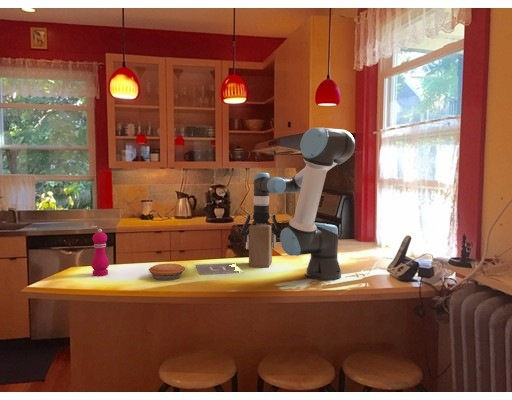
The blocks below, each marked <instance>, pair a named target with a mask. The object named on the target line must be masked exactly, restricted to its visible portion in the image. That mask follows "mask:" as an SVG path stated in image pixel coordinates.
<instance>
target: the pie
mask: <svg viewBox="0 0 512 400" xmlns="http://www.w3.org/2000/svg"><path fill="white" fill-rule="evenodd" d="M148 271H149V272H148V273H150V274H151V276H152V277H153V279H155V280H159V281H171V280H176V279H179V278H181V277H182V275H183V273H184V272H185V271H186V267H185V266H184V265H181V264H179V263H160V264H159V263H158V264H155V265H153V266H151V267H149V268H148Z"/></svg>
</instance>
